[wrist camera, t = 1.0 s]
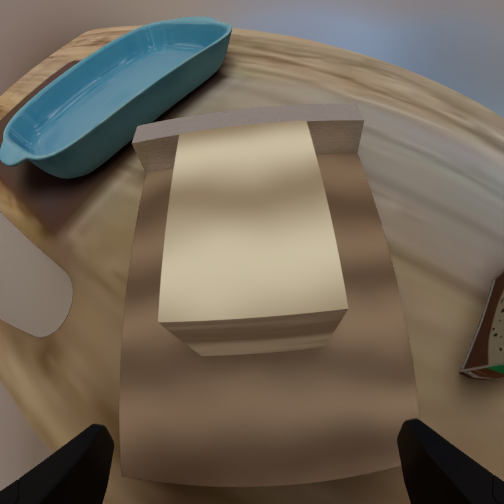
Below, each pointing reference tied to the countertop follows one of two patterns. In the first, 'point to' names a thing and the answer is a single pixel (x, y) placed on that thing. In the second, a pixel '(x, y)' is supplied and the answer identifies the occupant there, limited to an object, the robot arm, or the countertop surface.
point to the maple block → (250, 243)
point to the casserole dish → (114, 95)
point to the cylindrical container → (31, 285)
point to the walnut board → (269, 369)
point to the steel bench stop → (317, 116)
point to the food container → (488, 338)
